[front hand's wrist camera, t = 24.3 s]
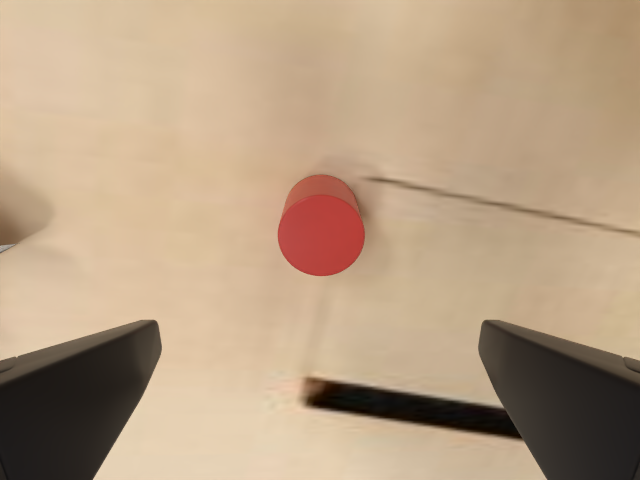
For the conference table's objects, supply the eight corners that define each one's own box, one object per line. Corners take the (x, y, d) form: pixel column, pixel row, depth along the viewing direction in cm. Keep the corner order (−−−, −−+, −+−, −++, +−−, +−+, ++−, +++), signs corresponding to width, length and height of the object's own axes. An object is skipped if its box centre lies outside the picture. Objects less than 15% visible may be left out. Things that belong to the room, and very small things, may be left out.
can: (328, 159, 22) (330, 177, 18) (370, 217, 23) (382, 246, 19) (270, 202, 22) (259, 228, 18) (313, 256, 24) (312, 291, 20)
